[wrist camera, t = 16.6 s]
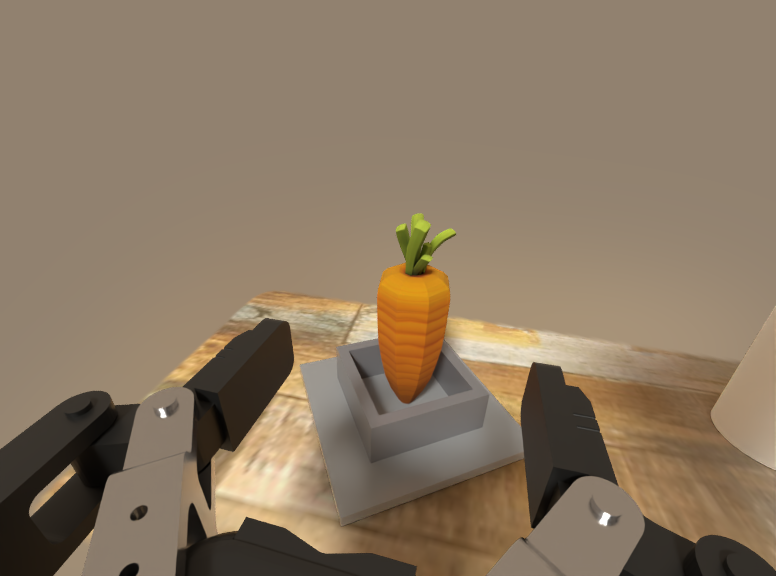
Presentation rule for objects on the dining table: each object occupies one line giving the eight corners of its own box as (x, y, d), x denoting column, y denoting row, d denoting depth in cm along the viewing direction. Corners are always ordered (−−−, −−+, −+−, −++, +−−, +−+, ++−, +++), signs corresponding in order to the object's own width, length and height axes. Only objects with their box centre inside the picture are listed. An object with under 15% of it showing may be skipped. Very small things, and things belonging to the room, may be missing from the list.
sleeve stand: (439, 341, 37) (443, 307, 35) (535, 454, 25) (548, 412, 24) (300, 371, 32) (296, 334, 30) (341, 526, 21) (339, 482, 19)
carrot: (392, 373, 31) (400, 199, 24) (446, 394, 29) (472, 211, 22) (361, 411, 27) (361, 217, 20) (422, 438, 25) (444, 233, 18)
